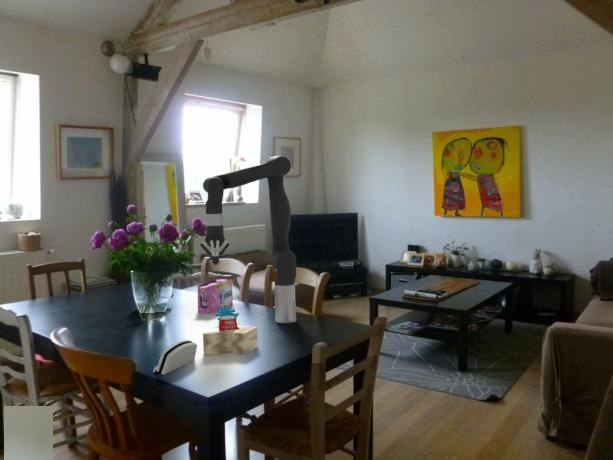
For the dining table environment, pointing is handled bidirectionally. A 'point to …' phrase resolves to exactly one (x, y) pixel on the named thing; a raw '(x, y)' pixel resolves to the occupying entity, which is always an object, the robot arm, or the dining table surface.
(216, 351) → the v block
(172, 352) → the white zipper pouch
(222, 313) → the gear
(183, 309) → the dining table surface
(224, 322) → the soda can
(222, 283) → the gum box
